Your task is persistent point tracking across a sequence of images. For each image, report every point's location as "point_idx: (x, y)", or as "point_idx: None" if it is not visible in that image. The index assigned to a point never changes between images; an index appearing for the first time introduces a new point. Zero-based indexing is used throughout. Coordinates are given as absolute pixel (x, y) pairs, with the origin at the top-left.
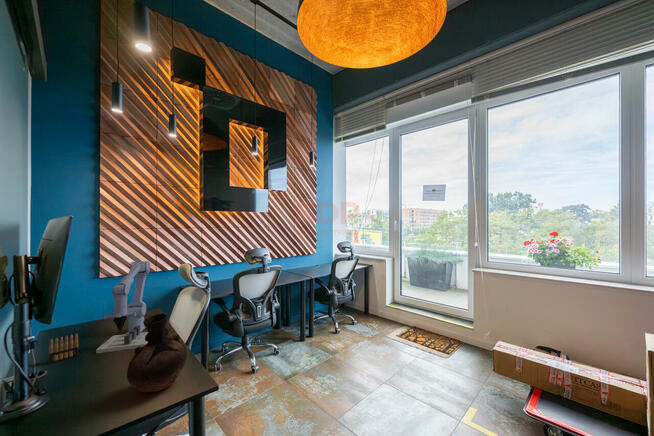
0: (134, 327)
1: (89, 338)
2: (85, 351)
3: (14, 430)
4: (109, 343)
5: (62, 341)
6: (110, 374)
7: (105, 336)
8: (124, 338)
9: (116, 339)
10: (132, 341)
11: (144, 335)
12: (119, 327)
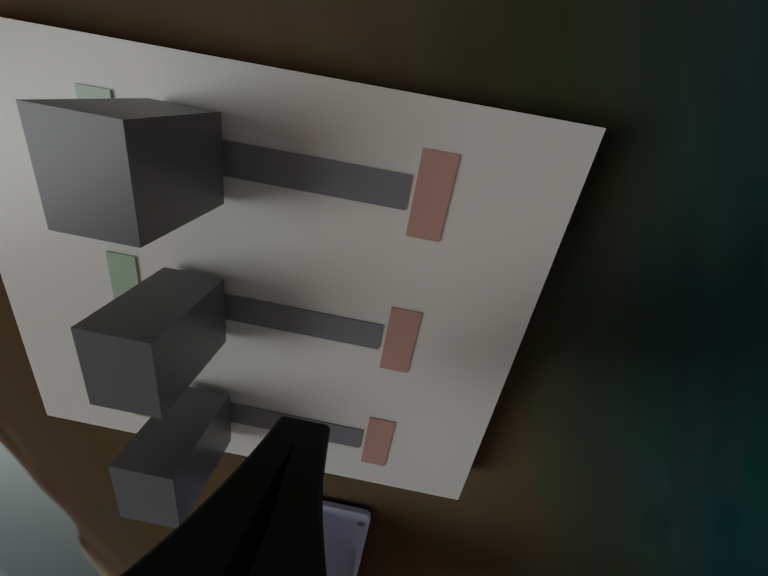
0: (169, 491)
1: (659, 569)
2: (707, 274)
3: None
4: (454, 294)
5: None
6: None
7: (533, 548)
8: (150, 114)
9: (399, 384)
10: None
11: None
12: (275, 473)
